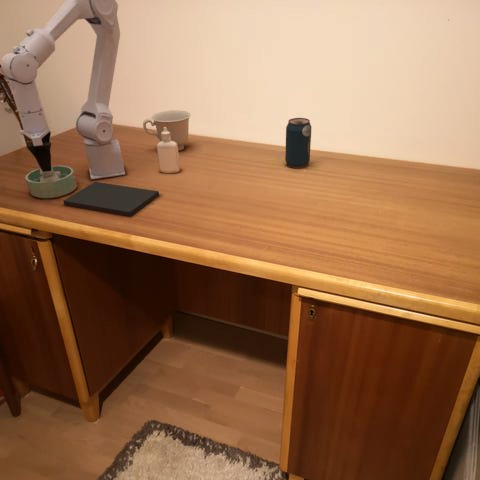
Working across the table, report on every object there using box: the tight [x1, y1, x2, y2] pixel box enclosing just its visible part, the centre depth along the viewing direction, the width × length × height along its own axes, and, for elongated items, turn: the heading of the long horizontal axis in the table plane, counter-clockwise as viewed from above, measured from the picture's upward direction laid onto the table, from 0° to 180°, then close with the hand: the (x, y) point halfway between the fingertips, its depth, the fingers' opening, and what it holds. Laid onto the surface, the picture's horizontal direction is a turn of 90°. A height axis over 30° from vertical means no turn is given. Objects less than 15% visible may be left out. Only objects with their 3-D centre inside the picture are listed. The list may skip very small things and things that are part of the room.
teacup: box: [142, 109, 192, 152], centre depth 144 cm, size 12×15×10 cm
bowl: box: [25, 165, 78, 200], centre depth 123 cm, size 12×12×4 cm
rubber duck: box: [40, 167, 61, 182], centre depth 122 cm, size 5×7×8 cm
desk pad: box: [63, 181, 160, 218], centre depth 117 cm, size 20×13×1 cm, turn 66°
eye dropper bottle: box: [156, 127, 181, 174], centre depth 129 cm, size 4×6×12 cm
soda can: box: [284, 117, 313, 169], centre depth 129 cm, size 7×7×12 cm
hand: (47, 166), depth 120 cm, fingers open, 7 cm apart
